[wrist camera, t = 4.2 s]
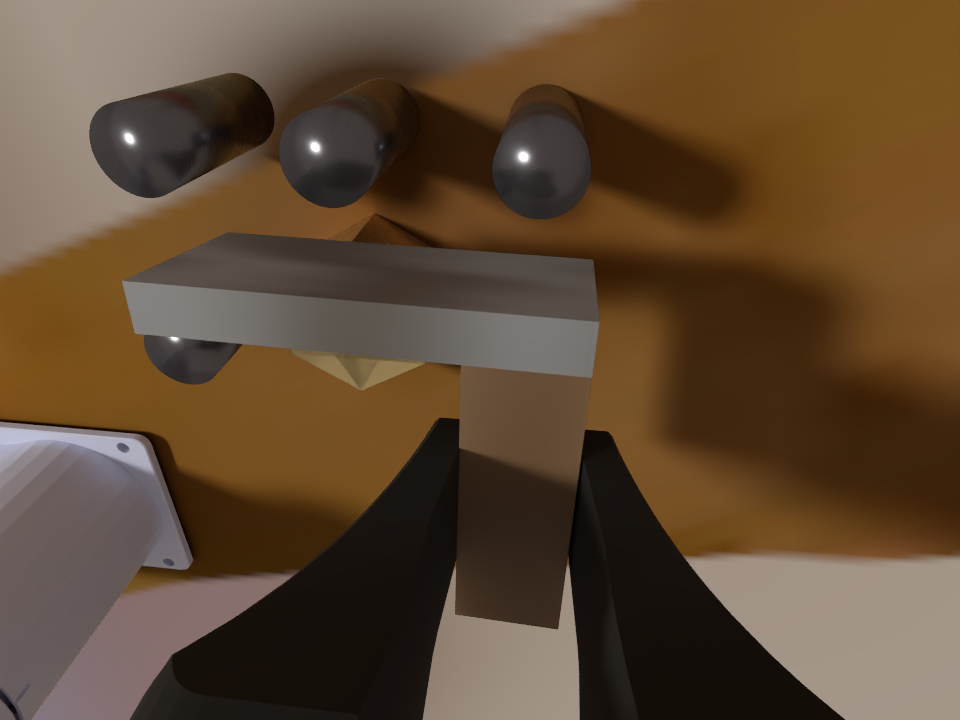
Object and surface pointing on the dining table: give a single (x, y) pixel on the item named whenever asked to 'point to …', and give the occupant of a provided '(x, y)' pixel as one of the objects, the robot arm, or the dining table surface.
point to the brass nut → (359, 367)
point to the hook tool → (429, 338)
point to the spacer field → (320, 158)
